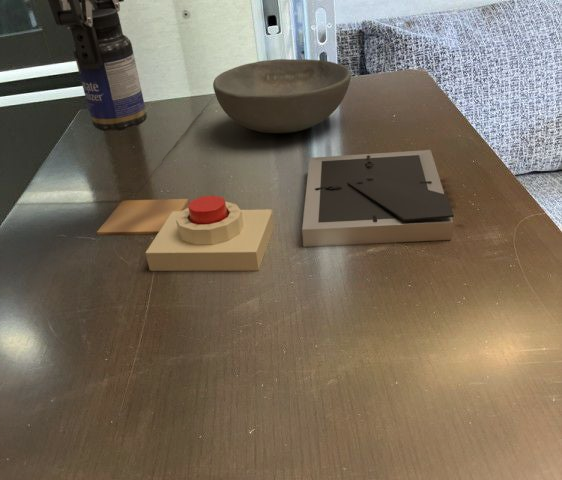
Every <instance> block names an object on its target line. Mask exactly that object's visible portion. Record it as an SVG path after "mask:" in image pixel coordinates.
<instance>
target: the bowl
mask: <svg viewBox="0 0 562 480" xmlns="http://www.w3.org/2000/svg"><path fill="white" fill-rule="evenodd" d="M351 79H352V72H351V70H350V69H349V68H348V67H346V66H345V65H343V64H339V63H336V62H333V61H329V60H322V59H321V60H320V59H308V58H307V59H306V58H305V59H293V58H291V59H288V58H287V59H286V58H279V59H278V58H277V59H269V60H267V59H266V60H260V61H255V62H250V63H245V64H241V65H239V66H236V67H233V68H231V69H228V70H225V71H223V72H221V73H220V74H218V75H217V76H216V77H215V78H214V79H213V81H212V83H213V84H212V87H213V93H214V94H215V97H216V100H217V103H218V104H219V106H220V107H221V109H222V110H223V112H224V113H225V114H226V115H227V116H228V117H229V118H230V119H231V120H232V121H233V122H235V123H236V124H237V125H239V126H241V127H243V128H246V129H248V130H251V131H255V132H259V133H264V134H290V133H297V132H301V131H305V130H308V129H310V128H312V127H314V126H316V125H318V124H320V123H321V122H323V121H324V120H326V119H328V118H329V117H330V116H331V115H332V114H333V113H334V112H335V111H336V110H337V109H338V107H339V106H340V104H342V102H343V100H344V98H345V96H346V94H347V92H348V90H349V86H350V83H351Z"/></svg>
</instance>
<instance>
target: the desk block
mask: <svg viewBox="0 0 562 480" xmlns="http://www.w3.org/2000/svg"><path fill="white" fill-rule="evenodd" d="M225 202H226V209H227V215H228V216H227V218H225V219H224V220H222V221H220V222H216V223H212V224H206V225H197V224H194V223H192V222H191V219H190V214H189V209H188V207H187V208H184V210H183V211H173V212H172V213H171V214H170V216H169V217H168V219H167V221H166V222H165V224H164V225H163V227H162V228H161V230H160V231H159V233H158V234H156V236H155V238H154V239H153V240H152V242H151V243H150V245H149V246H148V248H147V249H146V251H145V253H144V254H145V258H146V261H147V265H148V270H149V271H150V272H158V271H159V272H174V271H176V272H177V271H178V272H179V271H181V272H183V271H184V272H186V271H187V272H195V271H196V272H197V271H198V272H201V271H202V272H203V271H204V272H205V271H206V272H207V271H209V272H210V271H213V272H214V271H216V272H218V271H219V272H221V271H227V272H230V271H233V272H235V271H237V272H238V271H247V272H248V271H251V272H252V271H254V272H255V271H259V270H260V268H261V265H262V262H263V259H264V257H265V254H266V251H267V249H268V246H269V244H270V240H271V237H272V234H273V232H274V229H275V217H274V210H273V209H271V208H269V209H241V208H240V207H239V206H238V205H237V204H236V203H233V202H229V201H225Z"/></svg>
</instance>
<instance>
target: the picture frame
mask: <svg viewBox="0 0 562 480" xmlns="http://www.w3.org/2000/svg"><path fill="white" fill-rule="evenodd" d="M454 217H455V216H454V211H453V208H452V205H451V202H450V199H449V196H448V194H446V193H445V191H444V188H443V184H442V182H441V178H440V175H439V171H438V168H437V166H436V162H435V159H434V156H433V154H432V150H431V149H425V150H424V149H423V150H408V151H394V152H393V151H392V152H378V153H377V152H376V153H362V154H347V155H332V156H330V155H329V156H318V157H317V156H316V157H309V158H308V168H307V177H306V189H305V197H304V208H303V217H302V228H301V233H302V235H301V236H302V245H303V248H312V247H313V248H314V247H333V246H355V245H373V244H375V245H376V244H392V243H393V244H394V243H397V244H398V243H414V242H435V241H437V242H438V241H451V240H452V239H453V230H454V229H453V228H454V221H453V218H454Z"/></svg>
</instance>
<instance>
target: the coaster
mask: <svg viewBox="0 0 562 480" xmlns="http://www.w3.org/2000/svg"><path fill="white" fill-rule="evenodd" d="M189 203H190V202H189V198H171V199H168V198H167V199H129V200H128V199H127V200H124V199H123V200H122V201H121V202H120V203H119V204H118V206H116V208H115V209H114V210H113V212H112V213H111V214H110V215H109V216H108V218H107V219H106V220H105V222H104V223H102V225H101V226H100V227H99V228H98V230H97V231H96V234H97V236H122V235H123V236H125V235H126V236H129V235H130V236H131V235H132V236H133V235H157V234H158V233H159V231H160V230H161V228H162V227H163V225H164V224H165V222H166V221H167V219H168V217H169V216H170V214H171V213H172V212H173V211H183V210H185V209H186V207H187V206H188V205H189Z"/></svg>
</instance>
